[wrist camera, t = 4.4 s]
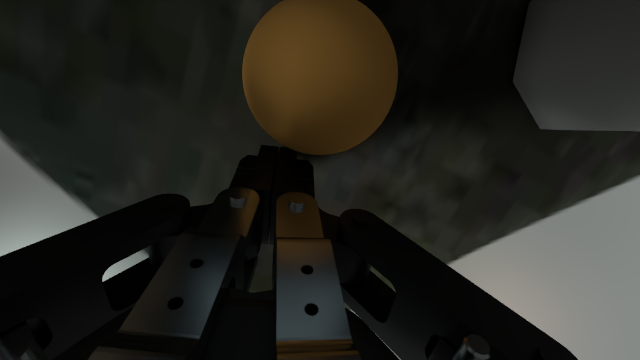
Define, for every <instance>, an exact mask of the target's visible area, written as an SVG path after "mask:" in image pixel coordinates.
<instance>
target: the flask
mask: <svg viewBox="0 0 640 360" xmlns="http://www.w3.org/2000/svg"><path fill="white" fill-rule="evenodd" d="M513 83H514V85H515V87H516V88H517V90H518V92H519V94H520V95H521V97H522V99H523V100H524V102H525V104H526V106H527V107H528V109H529V111H530V112H531V114H532V116H533V118H534V119H535V121H536V123H537V125H538V126H539V128H540V129H554V130H612V131H640V0H531V1H530V2H529V5H528V10H527V14H526V19H525V24H524V29H523V34H522V38H521V43H520V48H519V53H518V58H517V62H516V67H515V72H514V77H513Z"/></svg>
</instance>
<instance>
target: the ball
mask: <svg viewBox="0 0 640 360" xmlns="http://www.w3.org/2000/svg"><path fill="white" fill-rule="evenodd" d="M242 79H243V87H244V92H245V96H246V99H247V102H248V105H249V107H250V109H251V111H252V113H253V115H254V117H255V118H256V120H257V122H258V123H259V124H260V125H261V127H262V128H263V129H264V130H265V131H266V132H267V133H268V134H269V135H270V136H271V137H272V138H274V139H275V140H276V141H277V142H279V143H280V144H282V145H284V146H286V147H288V148H290V149H292V150H295V151H298V152H301V153H305V154H311V155H329V154H335V153H339V152H342V151H346V150H348V149H350V148H352V147H354V146H356V145H358V144H360V143H361V142H363V141H364V140H366V139H367V138H368V137H369V136H370V135H372V134H373V133H374V132H375V130H376V129H377V128H378V127H379V126H380V125H381V123H382V122H383V120H384V119H385V117H386V116H387V114H388V112H389V110H390V108H391V105H392V103H393V100H394V97H395V93H396V89H397V82H398V64H397V57H396V52H395V48H394V45H393V42H392V40H391V37H390V35H389V33H388V32H387V30H386V28H385V27H384V25H383V23H382V22H381V21H380V19H379V18H378V17H377V16H376V15H375V14H374V13H373V12H372V11H371V10H370V9H369V8H368V7H366V6H365V5H364V4H362V3H361V2H359V1H358V0H283V1H281V2H280V3H278V4H277V5H275V6H274V7H273V8H271V9H270V10H269V11H268V12H267V13H266V14H265V15H264V16H263V18H262V19H261V20H260V21H259V23H258V24H257V25H256V27H255V29H254V30H253V32H252V34H251V36H250V38H249V40H248V43H247V46H246V50H245V54H244V59H243V68H242Z"/></svg>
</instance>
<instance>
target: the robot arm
mask: <svg viewBox="0 0 640 360" xmlns="http://www.w3.org/2000/svg"><path fill="white" fill-rule="evenodd" d="M278 152H279V155H278ZM296 154H297V151H295V150H292V149H290V148H288V147H280V149H279V147H277V146H267V145H261V148H260V151H259V154H258V156H253V155H247V156H246V157H244V158H243V159H241V160H240V162H239V165H238V168H237V170H236V173H235V175H234V177H233V179H232V182H231V184H230V187H229V189H226V190H224V191H222V192H220V193H219V194H218V195H217V197H216V199H215V200H214V202H213V203H212V204H208V205H201V206H192V207H190V202H189V200H188V199H187V198H186V197H184V196H182V195H178V194H161V195H157V196H154V197H151V198H148V199H146V200H143V201H141V202H138V203H136V204H133V205H130V206H128V207H125V208H123V209H120V210H118V211H115V212H113V213H110V214H108V215H105V216H102V217H100V218H97V219H95V220H92V221H90V222H87V223H85V224H82V225H80V226H77V227H75V228H72V229H69V230H67V231H64V232H62V233H59V234H57V235H54V236H52V237H49V238H46V239H44V240H42V241H39V242H36V243H34V244H31V245H29V246H26V247H23V248H21V249H19V250H16V251H13V252H11V253H8V254H6V255H3V256H1V257H0V360H399V359H398V358H397V357H396V355H398V357H399V358H400V359H401V360H578V359H577V358H576V357H575V356H574V355H573V354H572V353H571V352H570V351H569V350H568V349H567V348H565V347H564V346H562V345H561V344H560V343H559V342H557V341H556V340H554V339H553V338H551V337H550V336H548V335H547V334H546V333H544V332H543V331H541V330H540V329H538V328H537V327H536V326H534V325H533V324H531V323H530V322H528V321H527V320H526V319H524V318H522V317H521V316H520V315H518V314H517V313H515V312H514V311H513V310H511V309H510V308H508V307H507V306H505V305H504V304H502V303H501V302H499V301H498V300H497V299H495V298H494V297H492V296H491V295H489V294H488V293H486V292H485V291H484V290H482V289H481V288H479V287H478V286H476V285H475V284H474V283H472V282H471V281H469V280H468V279H466V278H465V277H463V276H462V275H461V274H459V273H458V272H456V271H455V270H453V269H452V268H451V267H449V266H448V265H446V264H445V263H443V262H442V261H441V260H439V259H438V258H436V257H435V256H433V255H432V254H430V253H429V252H428V251H426V250H425V249H423V248H422V247H420V246H419V245H417V244H416V243H415V242H413V241H412V240H410V239H409V238H407V237H406V236H405V235H403V234H402V233H400V232H399V231H397V230H396V229H394V228H393V227H392V226H390V225H389V224H387V223H386V222H384V221H383V220H381V219H380V218H379V217H377V216H376V215H374V214H373V213H371V212H368V211H366V210H362V209H349V210H346V211H344V212H343V213H342V214H341V215H340V217H337V216H334V215H331V214H328V213H326V212H324V211H322V210H321V209H320V208H319V207H318V204H317V201H316V200H315V194H314V175H313V174H314V173H313V166H312V165H311V164H310V162H309V161H307V160H296ZM269 231H270V241H269V244H274V247H273V262H272V290H269V291H262V292H256V293H250V292H249V289H250V286H251V282H252V279H253V275H254V272H255V268H256V265H257V261H258V253H259V251H260V246H261V244H268V237H269ZM146 247H147V249H148V254H149V258H147V259H145V260H143V261H141V262H139V263H138V264H136V265H134V266H132V267H130V268H128V269H126V270H125V271H123V272H121V273H119V274H117V275H115V276H113V277H112V278H110V279H108V280H106V281H104V282H102V277H103V274H104V273H105V271H106V270H107V269H108V268H109V267H110V266H111V265H113V264H115V263H117V262H119V261H120V260H123V259H124V258H127V257H129V256H131V255H132V254H134V253H136V252H138V251H140V250H142V249H144V248H146ZM371 266H372V267H374V268H375V269H376V270H377V271H378V272H380V273H381V274H382V275H383V276H384V277H386V278H387V279H388V280H389V281H390V282H391V283H392V285H393V286H394V288H395V291H396V292H395V291H394V290H392V289H391V288H390V287H389V286H388V285H387V284H385V283H384V282H383V281H382V280H381V279H380V278H378V277H377V276H376V275H375V274H374V273H373V272H371V271H370V268H371ZM344 302H345V303H346V304H347V305H348V306H349V307H350V308H351V309H352V310H353V311H354V312H355V313H356V314H357V315H358V316H359V317H360V318H361V319H360V318H359V317H358V316H357V315H356V314H354V313H353V312H351V311H350V310H348V309H347V308H345V306H344ZM370 328H371V329H372V330H373V331H374V332H375V333H376V334H377V335H378V336H379V337H380V338H381V339H380V338H379V337H378V336H377V335H376V334H375V333H374V332H373V331H372V330H371V329H370ZM382 340H383V341H382ZM383 342H384V343H385V344H386V345H387V346H388V347H389V348H390V349H391V350H392V351H393V352H395V354H396V355H394V353H393V352H392V351H391V350H390V349H389V348H388V347H387V346H386V345H385V344H384V343H383Z"/></svg>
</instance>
